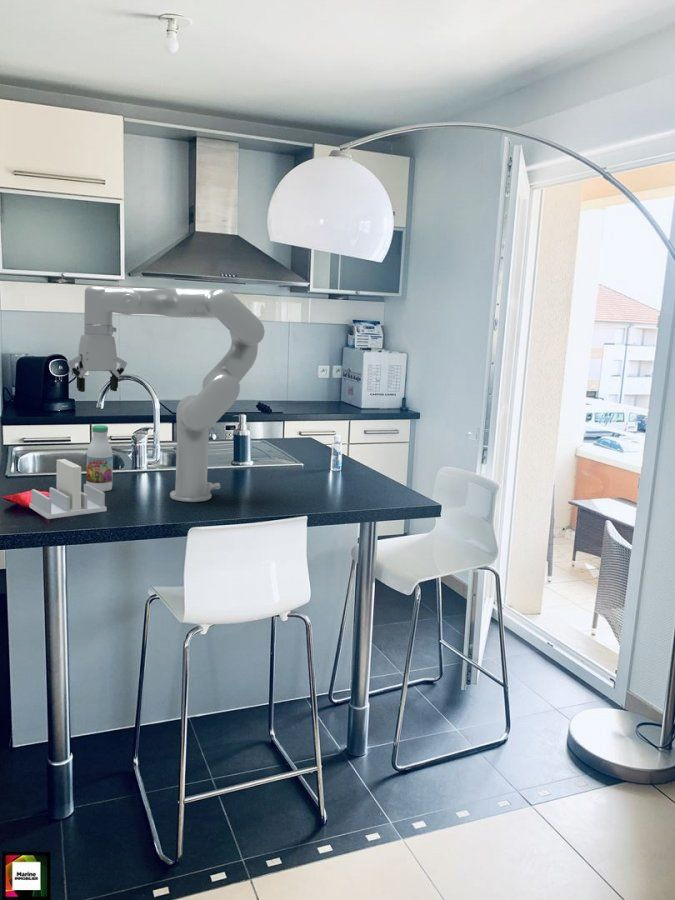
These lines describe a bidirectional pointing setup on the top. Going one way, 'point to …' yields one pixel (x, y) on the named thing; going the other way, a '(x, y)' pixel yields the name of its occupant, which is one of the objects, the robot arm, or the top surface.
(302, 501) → the top surface
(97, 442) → the milk bottle
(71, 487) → the plate
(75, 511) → the dish rack
